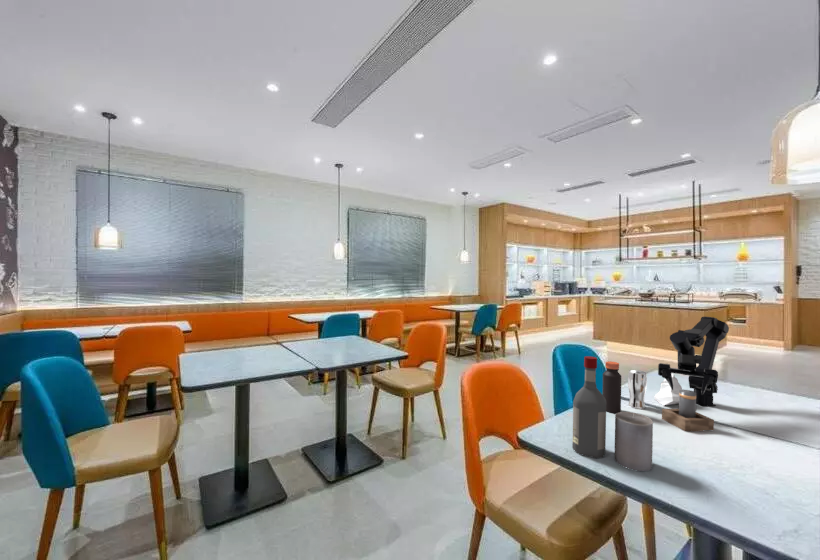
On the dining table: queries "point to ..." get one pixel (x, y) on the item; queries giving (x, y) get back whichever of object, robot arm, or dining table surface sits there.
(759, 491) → the dining table surface
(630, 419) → the pillar candle
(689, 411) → the charcoal peg
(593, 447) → the liquor
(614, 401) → the bottle
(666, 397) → the soft serve ice cream
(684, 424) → the walnut socket block
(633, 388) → the beer glass
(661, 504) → the dining table surface
